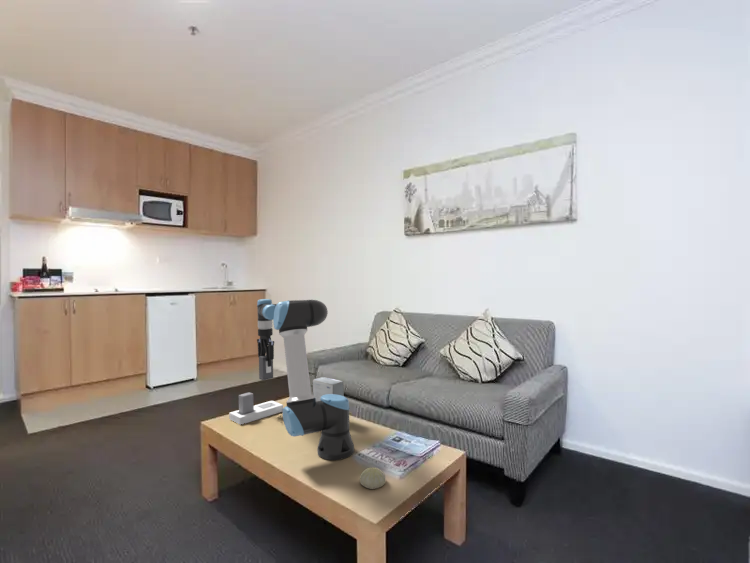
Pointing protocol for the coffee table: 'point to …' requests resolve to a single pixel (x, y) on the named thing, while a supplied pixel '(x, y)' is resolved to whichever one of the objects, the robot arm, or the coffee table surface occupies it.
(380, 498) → the coffee table surface
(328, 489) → the coffee table surface
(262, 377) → the grey rectangular block
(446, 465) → the coffee table surface
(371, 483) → the sea urchin shell
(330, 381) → the hard drive box
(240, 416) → the socket strip
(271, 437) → the coffee table surface
